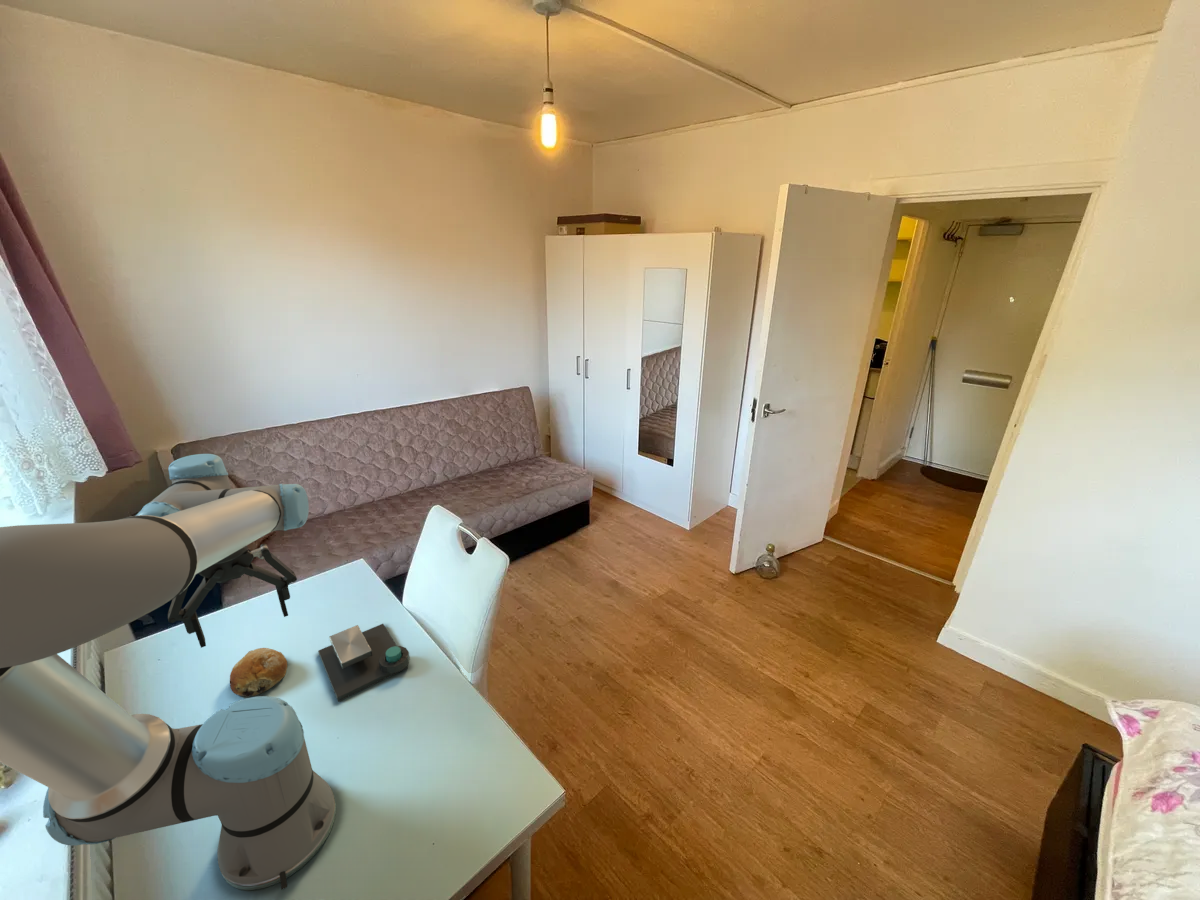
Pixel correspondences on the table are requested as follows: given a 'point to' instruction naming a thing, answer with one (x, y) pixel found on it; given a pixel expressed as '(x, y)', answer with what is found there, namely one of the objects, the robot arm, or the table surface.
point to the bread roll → (257, 672)
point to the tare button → (393, 654)
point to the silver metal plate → (350, 646)
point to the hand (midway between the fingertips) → (245, 627)
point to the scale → (363, 664)
